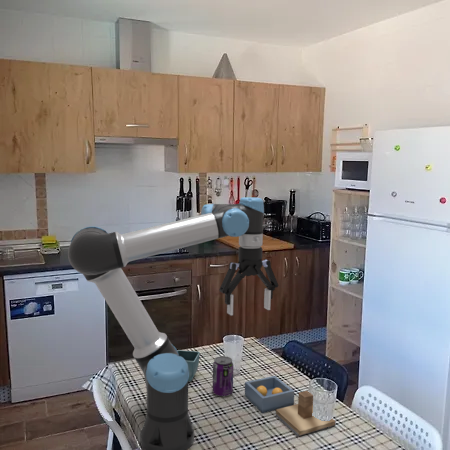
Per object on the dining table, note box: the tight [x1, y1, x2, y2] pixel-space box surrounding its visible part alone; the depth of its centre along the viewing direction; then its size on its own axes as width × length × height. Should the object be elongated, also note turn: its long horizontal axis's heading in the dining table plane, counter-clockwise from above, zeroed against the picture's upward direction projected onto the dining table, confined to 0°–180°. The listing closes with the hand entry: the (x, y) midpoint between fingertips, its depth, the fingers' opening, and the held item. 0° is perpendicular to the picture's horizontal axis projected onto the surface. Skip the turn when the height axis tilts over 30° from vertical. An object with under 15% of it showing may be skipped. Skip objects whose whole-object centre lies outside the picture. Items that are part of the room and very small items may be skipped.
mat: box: [275, 413, 336, 437], centre depth 140 cm, size 14×12×1 cm
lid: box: [275, 390, 336, 436], centre depth 139 cm, size 13×13×8 cm
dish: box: [244, 375, 295, 414], centre depth 151 cm, size 12×12×5 cm
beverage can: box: [211, 355, 234, 397], centre depth 155 cm, size 7×7×12 cm
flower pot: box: [177, 349, 201, 383], centre depth 165 cm, size 9×9×9 cm
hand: (248, 311), depth 145 cm, fingers open, 13 cm apart
